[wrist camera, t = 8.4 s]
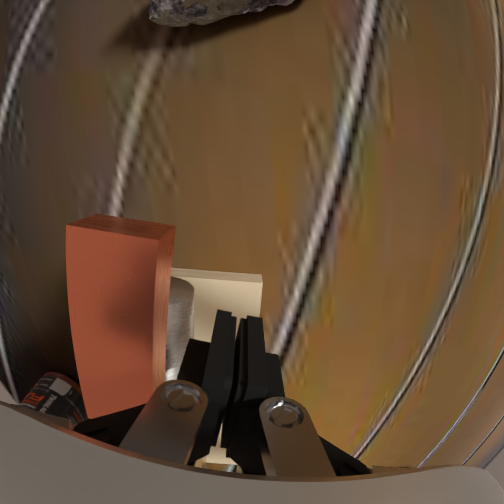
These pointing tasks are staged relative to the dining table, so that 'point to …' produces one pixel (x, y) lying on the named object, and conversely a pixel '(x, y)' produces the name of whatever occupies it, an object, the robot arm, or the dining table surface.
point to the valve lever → (118, 308)
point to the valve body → (179, 330)
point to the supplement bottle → (57, 397)
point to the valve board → (223, 298)
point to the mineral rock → (203, 10)
